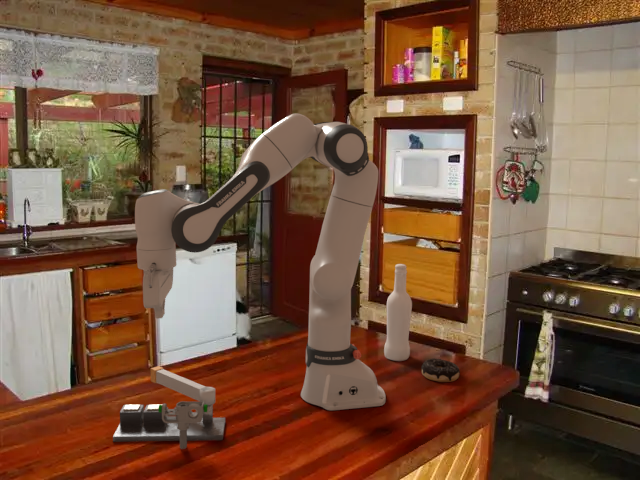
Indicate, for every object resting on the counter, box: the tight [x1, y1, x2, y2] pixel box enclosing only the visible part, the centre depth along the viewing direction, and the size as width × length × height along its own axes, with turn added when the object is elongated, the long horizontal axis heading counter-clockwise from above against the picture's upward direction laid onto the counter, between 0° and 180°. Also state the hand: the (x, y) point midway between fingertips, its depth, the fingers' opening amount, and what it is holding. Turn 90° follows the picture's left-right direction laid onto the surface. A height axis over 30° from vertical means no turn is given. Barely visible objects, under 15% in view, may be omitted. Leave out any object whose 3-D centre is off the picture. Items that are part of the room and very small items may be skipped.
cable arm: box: [150, 365, 216, 405], centre depth 151 cm, size 22×4×3 cm, turn 50°
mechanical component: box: [158, 400, 208, 450], centre depth 135 cm, size 3×10×10 cm, turn 95°
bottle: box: [383, 263, 413, 362], centre depth 195 cm, size 8×8×30 cm
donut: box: [420, 358, 461, 383], centre depth 183 cm, size 11×12×4 cm
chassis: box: [112, 404, 226, 443], centre depth 142 cm, size 24×9×6 cm, turn 95°
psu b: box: [119, 404, 145, 426], centre depth 144 cm, size 5×4×4 cm
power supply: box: [143, 403, 165, 426], centre depth 144 cm, size 5×4×4 cm
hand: (160, 316), depth 147 cm, fingers closed
